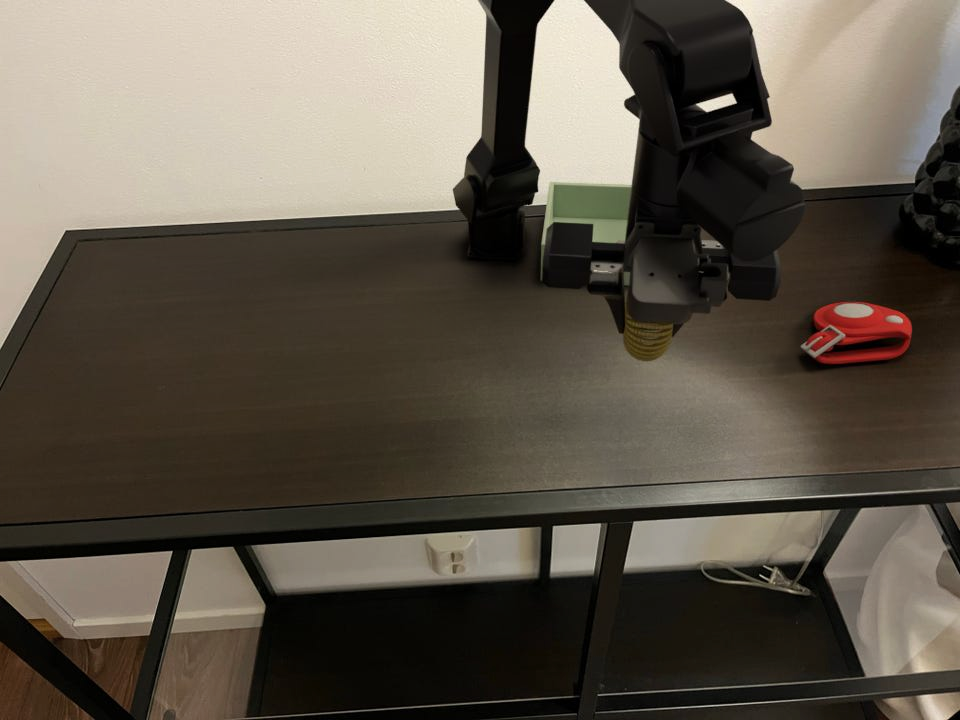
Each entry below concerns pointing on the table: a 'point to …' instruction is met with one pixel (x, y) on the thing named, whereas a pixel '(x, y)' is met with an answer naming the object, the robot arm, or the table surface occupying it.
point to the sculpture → (635, 333)
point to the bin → (589, 210)
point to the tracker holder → (857, 332)
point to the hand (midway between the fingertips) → (645, 332)
